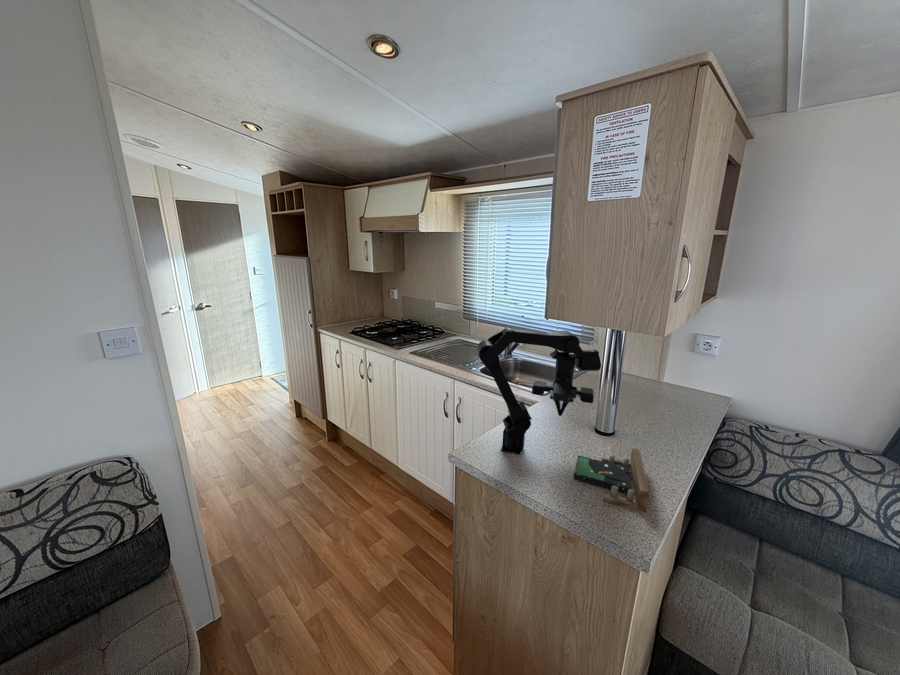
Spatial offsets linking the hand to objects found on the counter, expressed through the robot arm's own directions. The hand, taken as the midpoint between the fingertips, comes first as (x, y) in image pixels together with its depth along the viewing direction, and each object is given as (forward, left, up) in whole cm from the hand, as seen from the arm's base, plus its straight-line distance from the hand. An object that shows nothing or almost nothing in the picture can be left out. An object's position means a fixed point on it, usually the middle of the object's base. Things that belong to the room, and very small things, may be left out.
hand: (560, 415), depth 115 cm
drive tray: (+19, -12, -12) cm, 25 cm away
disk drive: (+14, -11, -13) cm, 22 cm away
